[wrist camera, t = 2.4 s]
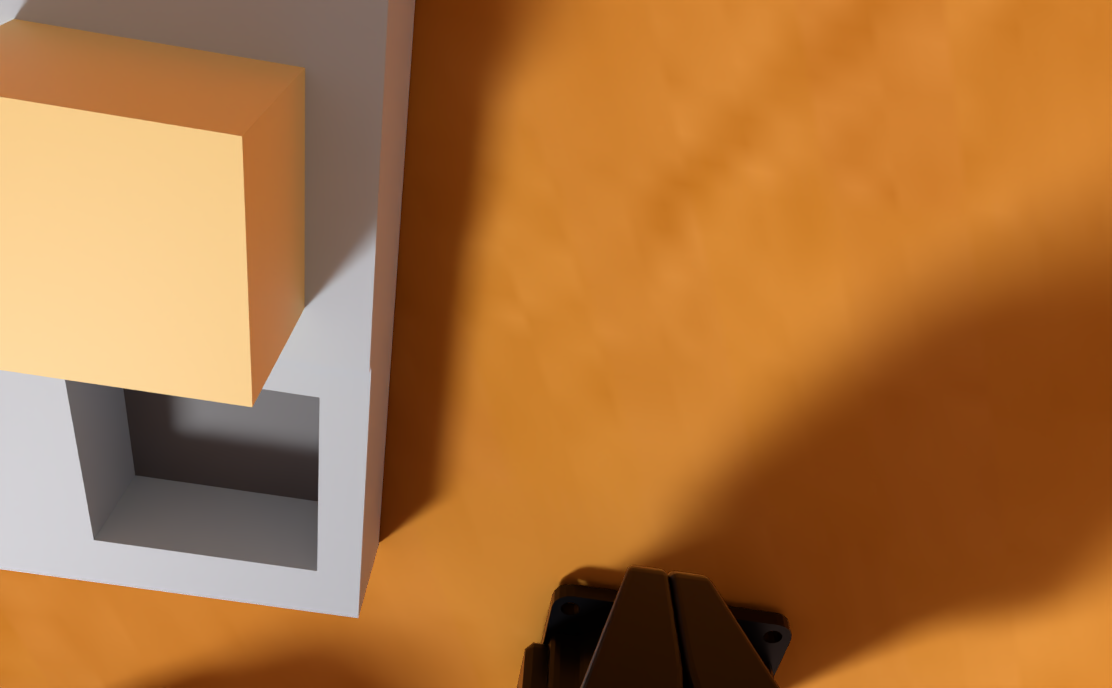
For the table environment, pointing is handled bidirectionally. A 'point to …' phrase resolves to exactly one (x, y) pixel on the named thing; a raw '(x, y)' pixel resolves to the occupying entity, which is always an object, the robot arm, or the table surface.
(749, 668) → the robot arm
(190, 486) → the trap board
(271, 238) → the ochre block
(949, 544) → the table surface
